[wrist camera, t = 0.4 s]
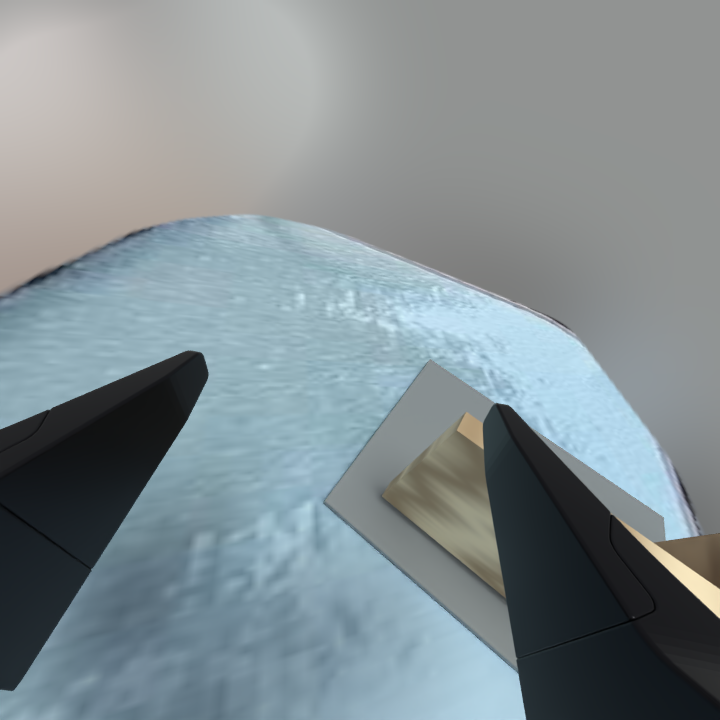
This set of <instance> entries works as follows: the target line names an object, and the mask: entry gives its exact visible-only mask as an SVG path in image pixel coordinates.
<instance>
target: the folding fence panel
mask: <svg viewBox="0 0 720 720" xmlns="http://www.w3.org/2000/svg"><path fill="white" fill-rule="evenodd" d="M382 497H383V498H384V499H386V500H387V501H388V502H389V503H391V504H392V505H393V506H394V507H395V508H397V509H398V510H399V511H400V512H401V513H403V514H404V515H405V516H406V517H408V518H409V519H410V520H411V521H412V522H414V523H415V524H416V525H417V526H418V527H420V528H421V529H422V530H423V531H425V532H426V533H427V534H428V535H429V536H431V537H432V538H433V539H434V540H435V541H437V542H438V543H439V544H440V545H442V546H443V547H444V548H445V549H446V550H448V551H449V552H450V553H451V554H453V555H454V556H455V557H456V558H457V559H459V560H460V561H461V562H462V563H463V564H465V565H466V566H467V567H468V568H470V569H471V570H472V571H473V572H474V573H476V574H477V575H478V576H479V577H480V578H482V579H483V580H484V581H485V582H487V583H488V584H489V585H490V586H491V587H493V588H494V589H495V590H496V591H497V592H499V593H500V594H501V595H502V596H504V597H505V598H506V596H505V590H504V584H503V578H502V573H501V567H500V561H499V555H498V549H497V543H496V537H495V531H494V525H493V520H492V514H491V508H490V502H489V496H488V490H487V484H486V478H485V467H484V447H483V423H482V422H480V421H479V420H477V419H476V418H475V417H473V416H472V415H470V414H469V413H467V412H466V413H464V414H463V415H462V416H461V417H460V418H459V419H458V420H457V421H456V422H455V423H454V424H453V425H452V426H450V427H449V428H448V429H447V430H446V431H445V432H444V433H443V434H442V435H441V436H440V437H439V438H438V439H436V440H435V441H434V442H433V443H432V444H431V445H430V446H429V447H428V448H427V449H426V450H425V451H423V452H422V453H421V454H420V455H419V456H418V457H417V458H416V459H415V460H414V461H413V462H412V463H411V464H409V465H408V466H407V467H406V468H405V469H404V470H403V471H402V472H401V473H400V474H399V475H398V476H397V477H395V478H394V479H393V480H392V481H391V482H390V483H389V485H388V487H387V488H386V490H385V492H384V493H383V495H382ZM611 514H612V513H611ZM615 517H616V516H615ZM616 518H617V517H616ZM617 519H618V520H619V521H620V522H621V523H622V524H623V525H624V526H625V527H626V528H627V529H628V530H629V531H630V532H631V533H632V534H633V535H634V536H635V538H636V539H637V540H638V541H639V542H640V543H641V544H642V545H643V546H644V547H645V548H646V549H647V550H648V551H649V552H650V553H651V554H652V555H653V556H654V557H655V558H656V559H658V560H659V561H660V562H661V563H662V564H663V565H664V566H665V567H666V568H667V569H668V570H669V571H670V572H671V573H672V574H673V575H674V576H675V577H676V578H677V579H678V580H679V581H680V582H681V583H683V584H684V585H685V586H686V587H687V588H688V589H689V590H690V591H691V592H692V593H693V594H694V595H695V596H696V597H697V598H699V599H700V600H701V601H702V602H703V603H704V604H705V605H706V606H707V607H708V608H709V609H710V610H711V611H712V612H713V613H714V614H716V615H717V616H718V617H719V618H720V589H719V588H717V587H716V586H714V585H713V584H712V583H710V582H709V581H707V580H706V579H704V578H703V577H702V576H700V575H699V574H697V573H696V572H694V571H693V570H692V569H690V568H689V567H687V566H686V565H684V564H683V563H682V562H680V561H679V560H677V559H676V558H674V557H673V556H672V555H670V554H669V553H667V552H666V551H664V550H663V549H662V548H660V547H659V546H657V545H656V544H654V543H653V542H652V541H650V540H649V539H647V538H646V537H644V536H643V535H642V534H640V533H639V532H637V531H636V530H634V529H633V528H632V527H630V526H629V525H627V524H626V523H624V522H623V521H622V520H620V519H619V518H617Z"/></svg>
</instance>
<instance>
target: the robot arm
mask: <svg viewBox="0 0 720 720" xmlns="http://www.w3.org/2000/svg"><path fill="white" fill-rule="evenodd" d="M207 379H208V369H207V365H206V362H205V359H204V356H203V354H202V353H200V352H196V351H185V352H183V353H180V354H178V355H176V356H173V357H171V358H169V359H166V360H164V361H162V362H159V363H157V364H155V365H152V366H150V367H147V368H145V369H143V370H140V371H138V372H136V373H133V374H131V375H129V376H126V377H124V378H122V379H119V380H117V381H115V382H112V383H110V384H107V385H105V386H103V387H100V388H98V389H96V390H93V391H91V392H89V393H86V394H84V395H82V396H79V397H77V398H75V399H72V400H70V401H67V402H65V403H63V404H60V405H58V406H56V407H53V408H51V410H46V411H44V412H41V413H39V414H37V415H34V416H32V417H30V418H27V419H25V420H22V421H20V422H18V423H15V424H13V425H10V426H8V427H5V428H3V429H0V690H8V691H14V690H15V688H16V687H17V686H18V684H19V683H20V682H21V680H22V679H23V677H24V676H25V674H26V673H27V671H28V669H29V668H30V666H31V665H32V663H33V662H34V660H35V658H36V657H37V655H38V654H39V652H40V651H41V649H42V647H43V646H44V644H45V643H46V641H47V640H48V638H49V636H50V635H51V633H52V632H53V630H54V629H55V627H56V626H57V624H58V622H59V621H60V619H61V618H62V616H63V615H64V613H65V611H66V610H67V608H68V607H69V605H70V604H71V602H72V600H73V599H74V597H75V596H76V594H77V593H78V591H79V590H80V588H81V586H82V585H83V583H84V582H85V580H86V579H87V577H88V575H89V574H90V572H91V569H92V568H93V567H94V566H95V564H96V563H97V561H98V559H99V558H100V556H101V555H102V553H103V552H104V550H105V548H106V547H107V545H108V544H109V542H110V541H111V539H112V537H113V536H114V534H115V533H116V531H117V530H118V528H119V527H120V525H121V523H122V522H123V520H124V519H125V517H126V516H127V514H128V512H129V511H130V509H131V508H132V506H133V505H134V503H135V501H136V500H137V498H138V497H139V495H140V494H141V492H142V490H143V489H144V487H145V486H146V484H147V483H148V481H149V480H150V478H151V476H152V475H153V473H154V472H155V470H156V469H157V467H158V465H159V464H160V462H161V461H162V459H163V458H164V456H165V454H166V453H167V451H168V450H169V448H170V447H171V445H172V443H173V442H174V440H175V439H176V437H177V436H178V434H179V433H180V431H181V429H182V428H183V426H184V425H185V423H186V421H187V420H188V418H189V416H190V414H191V412H192V410H193V408H194V406H195V404H196V402H197V400H198V398H199V396H200V394H201V392H202V390H203V388H204V386H205V384H206V381H207ZM483 447H484V467H485V478H486V484H487V490H488V496H489V502H490V508H491V514H492V520H493V525H494V531H495V537H496V543H497V549H498V555H499V561H500V567H501V573H502V578H503V584H504V590H505V596H506V602H507V608H508V614H509V620H510V625H511V631H512V637H513V643H514V649H515V655H516V658H517V659H516V662H517V668H518V674H519V680H520V686H521V691H522V697H523V703H524V709H525V715H526V720H720V618H719V617H718V616H717V615H716V614H714V613H713V612H712V611H711V610H710V609H709V608H708V607H707V606H706V605H705V604H704V603H703V602H702V601H701V600H700V599H699V598H697V597H696V596H695V595H694V594H693V593H692V592H691V591H690V590H689V589H688V588H687V587H686V586H685V585H684V584H683V583H681V582H680V581H679V580H678V579H677V578H676V577H675V576H674V575H673V574H672V573H671V572H670V571H669V570H668V569H667V568H666V567H665V566H664V565H663V564H662V563H661V562H660V561H659V560H658V559H656V558H655V557H654V556H653V555H652V554H651V553H650V552H649V551H648V550H647V549H646V548H645V547H644V546H643V545H642V544H641V543H640V542H639V541H638V540H637V539H636V538H635V536H634V535H633V534H632V533H631V532H630V531H629V530H628V529H627V528H626V527H625V526H624V525H623V524H622V523H621V522H620V521H619V520H618V519H617V518H616V517H615V516H614V515H613V514H611V512H610V511H609V510H608V509H607V507H606V506H605V505H604V504H603V503H602V502H601V501H600V500H599V499H598V498H597V497H596V496H595V495H594V494H593V493H592V492H591V491H590V490H589V489H588V488H587V486H586V485H585V484H584V483H583V482H582V481H581V480H580V479H579V478H578V477H577V476H576V475H575V474H574V473H573V472H572V471H571V470H570V469H569V468H568V467H567V465H566V464H565V463H564V462H563V461H562V460H561V459H560V458H559V457H558V456H557V455H556V454H555V453H554V452H553V451H552V450H551V449H550V448H549V447H548V446H547V444H546V443H545V442H544V441H543V440H542V439H541V438H540V437H539V436H538V435H537V434H536V433H535V432H534V431H533V430H532V429H531V428H530V427H529V426H528V425H527V423H526V422H525V421H524V420H523V419H522V418H521V417H520V416H519V415H518V414H517V413H516V412H515V411H514V410H513V409H512V408H511V407H510V406H509V405H505V404H499V403H495V404H493V406H492V407H491V409H490V411H489V412H488V414H487V416H486V418H485V419H484V422H483Z"/></svg>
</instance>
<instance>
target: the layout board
mask: <svg viewBox="0 0 720 720" xmlns="http://www.w3.org/2000/svg"><path fill="white" fill-rule="evenodd" d="M493 404H495V403H494V402H493V401H491V400H490V399H488V398H487V397H485V396H484V395H482V394H481V393H479V392H478V391H476V390H475V389H473V388H472V387H470V386H469V385H468V384H466V383H465V382H463V381H462V380H460V379H459V378H457V377H456V376H454V375H453V374H451V373H450V372H448V371H447V370H445V369H444V368H442V367H441V366H440V365H438V364H437V363H435V362H434V361H432V360H431V359H430V360H429V362H428V363H427V364H426V366H425V367H424V368H423V370H422V371H421V372H420V374H419V375H418V376H417V378H416V379H415V380H414V382H413V383H412V384H411V386H410V387H409V388H408V390H407V391H406V392H405V394H404V395H403V396H402V398H401V399H400V400H399V402H398V403H397V404H396V406H395V407H394V408H393V410H392V411H391V413H390V414H389V415H388V417H387V418H386V419H385V421H384V422H383V423H382V425H381V426H380V427H379V429H378V430H377V431H376V433H375V434H374V435H373V437H372V438H371V439H370V441H369V442H368V443H367V445H366V446H365V447H364V449H363V450H362V451H361V453H360V454H359V455H358V457H357V458H356V459H355V461H354V462H353V463H352V465H351V466H350V467H349V469H348V470H347V471H346V473H345V474H344V475H343V477H342V478H341V479H340V481H339V482H338V483H337V485H336V486H335V487H334V489H333V490H332V491H331V493H330V494H329V495H328V497H327V498H326V500H325V501H324V502H323V503H324V504H325V505H326V506H327V507H329V508H330V509H331V510H332V511H333V512H334V513H335V514H337V515H338V516H339V517H340V518H341V519H342V520H343V521H345V522H346V523H347V524H348V525H349V526H350V527H351V528H353V529H354V530H355V531H356V532H357V533H358V534H359V535H361V536H362V537H363V538H364V539H365V540H366V541H368V542H369V543H370V544H371V545H372V546H373V547H374V548H376V549H377V550H378V551H379V552H380V553H381V554H382V555H384V556H385V557H386V558H387V559H388V560H389V561H390V562H392V563H393V564H394V565H395V566H396V567H397V568H398V569H400V570H401V571H402V572H403V573H404V574H405V575H407V576H408V577H409V578H410V579H411V580H412V581H413V582H415V583H416V584H417V585H418V586H419V587H420V588H421V589H423V590H424V591H425V592H426V593H427V594H428V595H429V596H431V597H432V598H433V599H434V600H435V601H436V602H437V603H439V604H440V605H441V606H442V607H443V608H444V609H446V610H447V611H448V612H449V613H450V614H451V615H452V616H454V617H455V618H456V619H457V620H458V621H459V622H460V623H462V624H463V625H464V626H465V627H466V628H467V629H468V630H470V631H471V632H472V633H473V634H474V635H475V636H476V637H478V638H479V639H480V640H481V641H482V642H483V643H484V644H486V645H487V646H488V647H489V648H490V649H491V650H493V651H494V652H495V653H496V654H497V655H498V656H499V657H501V658H502V659H503V660H504V661H505V662H506V663H507V664H509V665H510V666H511V667H512V668H513V669H514V670H515V671H517V672H518V668H517V662H516V659H517V658H516V655H515V649H514V643H513V637H512V631H511V625H510V620H509V614H508V608H507V602H506V598H505V597H504V596H502V595H501V594H500V593H499V592H497V591H496V590H495V589H494V588H493V587H491V586H490V585H489V584H488V583H487V582H485V581H484V580H483V579H482V578H480V577H479V576H478V575H477V574H476V573H474V572H473V571H472V570H471V569H470V568H468V567H467V566H466V565H465V564H463V563H462V562H461V561H460V560H459V559H457V558H456V557H455V556H454V555H453V554H451V553H450V552H449V551H448V550H446V549H445V548H444V547H443V546H442V545H440V544H439V543H438V542H437V541H435V540H434V539H433V538H432V537H431V536H429V535H428V534H427V533H426V532H425V531H423V530H422V529H421V528H420V527H418V526H417V525H416V524H415V523H414V522H412V521H411V520H410V519H409V518H408V517H406V516H405V515H404V514H403V513H401V512H400V511H399V510H398V509H397V508H395V507H394V506H393V505H392V504H391V503H389V502H388V501H387V500H386V499H384V498H383V497H382V495H383V493H384V492H385V490H386V488H387V487H388V485H389V483H390V482H391V481H392V480H393V479H394V478H395V477H397V476H398V475H399V474H400V473H401V472H402V471H403V470H404V469H405V468H406V467H407V466H408V465H409V464H411V463H412V462H413V461H414V460H415V459H416V458H417V457H418V456H419V455H420V454H421V453H422V452H423V451H425V450H426V449H427V448H428V447H429V446H430V445H431V444H432V443H433V442H434V441H435V440H436V439H438V438H439V437H440V436H441V435H442V434H443V433H444V432H445V431H446V430H447V429H448V428H449V427H450V426H452V425H453V424H454V423H455V422H456V421H457V420H458V419H459V418H460V417H461V416H462V415H463V414H464V413H466V412H467V413H469V414H470V415H472V416H473V417H475V418H476V419H477V420H479V421H480V422H482V423H483V422H484V419H485V418H486V416H487V414H488V412H489V411H490V409H491V407H492V406H493ZM530 428H531V427H530ZM531 429H532V428H531ZM532 430H533V431H534V432H535V433H536V434H537V435H538V436H539V437H540V438H541V439H542V440H543V441H544V442H545V443H546V444H547V446H548V447H549V448H550V449H551V450H552V451H553V452H554V453H555V454H556V455H557V456H558V457H559V458H560V459H561V460H562V461H563V462H564V463H565V464H566V465H567V467H568V468H569V469H570V470H571V471H572V472H573V473H574V474H575V475H576V476H577V477H578V478H579V479H580V480H581V481H582V482H583V483H584V484H585V485H586V486H587V488H588V489H589V490H590V491H591V492H592V493H593V494H594V495H595V496H596V497H597V498H598V499H599V500H600V501H601V502H602V503H603V504H604V505H605V506H606V507H607V509H608V510H609V511H610V512H611V513H612V514H613V515H614V516H616V517H617V518H619V519H620V520H622V521H623V522H624V523H626V524H627V525H629V526H630V527H632V528H633V529H634V530H636V531H637V532H639V533H640V534H642V535H643V536H644V537H646V538H647V539H649V540H650V541H652V542H653V543H655V542H662V541H666V540H665V528H664V517H662V516H661V515H659V514H658V513H656V512H655V511H653V510H652V509H650V508H649V507H647V506H646V505H644V504H643V503H642V502H640V501H639V500H637V499H636V498H634V497H633V496H631V495H630V494H628V493H627V492H625V491H624V490H622V489H621V488H619V487H618V486H616V485H615V484H614V483H612V482H611V481H609V480H608V479H606V478H605V477H603V476H602V475H600V474H599V473H597V472H596V471H594V470H593V469H591V468H590V467H588V466H587V465H585V464H584V463H583V462H581V461H580V460H578V459H577V458H575V457H574V456H572V455H571V454H569V453H568V452H566V451H565V450H563V449H562V448H560V447H559V446H557V445H556V444H555V443H553V442H552V441H550V440H549V439H547V438H546V437H544V436H543V435H541V434H540V433H538V432H537V431H535V430H534V429H532Z"/></svg>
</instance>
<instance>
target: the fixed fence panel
mask: <svg viewBox="0 0 720 720" xmlns="http://www.w3.org/2000/svg"><path fill="white" fill-rule="evenodd" d="M654 544H656V545H657V546H659V547H660V548H662V549H663V550H664V551H666V552H667V553H669V554H670V555H672V556H673V557H674V558H676V559H677V560H679V561H680V562H682V563H683V564H684V565H686V566H687V567H689V568H690V569H692V570H693V571H694V572H696V573H697V574H699V575H700V576H702V577H703V578H704V579H706V580H707V581H709V582H710V583H712V584H713V585H714V586H716V587H717V588H719V589H720V533H718V534H711V535H704V536H697V537H690V538H683V539H676V540H669V541H662V542H655V543H654Z"/></svg>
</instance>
